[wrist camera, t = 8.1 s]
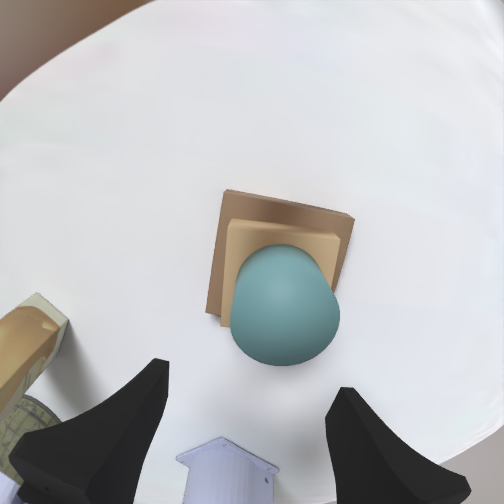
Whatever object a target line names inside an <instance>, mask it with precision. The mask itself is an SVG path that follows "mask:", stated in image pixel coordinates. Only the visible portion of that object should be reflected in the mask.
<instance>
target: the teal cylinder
mask: <svg viewBox="0 0 504 504" xmlns="http://www.w3.org/2000/svg"><path fill="white" fill-rule="evenodd" d="M339 321H340V310H339V305H338V302H337V299H336V297H335V295H334V294H333V292H332V290H331V288H330V286H329V284H328V282H327V281H326V279H325V277H324V275H323V273H322V271H321V269H320V268H319V266H318V264H317V262H316V261H315V260H314V258H313V257H312V256H311V255H310V254H308V253H307V252H306V251H304V250H302V249H301V248H298V247H296V246H293V245H288V244H273V245H268V246H265V247H262V248H260V249H258V250H256V251H255V252H253V253H252V254H251V255H250V256H249V257H248V258H246V260H245V261H244V262H243V264H242V265H241V267H240V269H239V271H238V274H237V278H236V284H235V289H234V295H233V301H232V307H231V313H230V329H231V333H232V336H233V338H234V340H235V342H236V344H237V345H238V346H239V348H240V349H241V350H242V351H243V352H244V353H245V354H247V355H248V356H249V357H251V358H253V359H254V360H256V361H259V362H261V363H264V364H268V365H273V366H290V365H295V364H300V363H303V362H305V361H308V360H310V359H312V358H314V357H315V356H317V355H318V354H320V353H321V352H322V351H323V350H324V349H325V348H326V347H327V346H328V345H329V344H330V343H331V341H332V340H333V338H334V336H335V334H336V332H337V330H338V326H339Z"/></svg>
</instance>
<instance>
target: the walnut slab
mask: <svg viewBox="0 0 504 504" xmlns="http://www.w3.org/2000/svg"><path fill="white" fill-rule="evenodd" d="M231 219H241V220H251V221H260V222H269V223H278V224H287V225H296V226H304V227H313V228H321V229H329V230H332V231H333V232H334V233H335V234H336V235H337V236H338V238H339V239H340V245H339V251H338V256H337V261H336V266H335V271H334V276H333V280H332V285H331V290H332V292H333V294H334V291H335V288H336V285H337V282H338V278H339V275H340V272H341V268H342V265H343V262H344V258H345V255H346V251H347V247H348V244H349V240H350V236H351V233H352V229H353V225H354V221H355V219H354V218H352V217H351V216H350V215H348V214H347V213H342V212H338V211H333V210H329V209H325V208H320V207H315V206H311V205H306V204H301V203H297V202H292V201H287V200H282V199H277V198H272V197H267V196H261V195H256V194H251V193H245V192H240V191H234V190H228V189H227V190H226V191H225V192H224V194H223V200H222V205H221V211H220V218H219V224H218V230H217V236H216V243H215V249H214V256H213V262H212V269H211V276H210V283H209V290H208V297H207V305H206V312H205V313H210V314H215V315H220V316H221V310H222V295H223V281H224V267H225V254H226V242H227V229H228V225H229V223H230V221H231Z"/></svg>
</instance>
